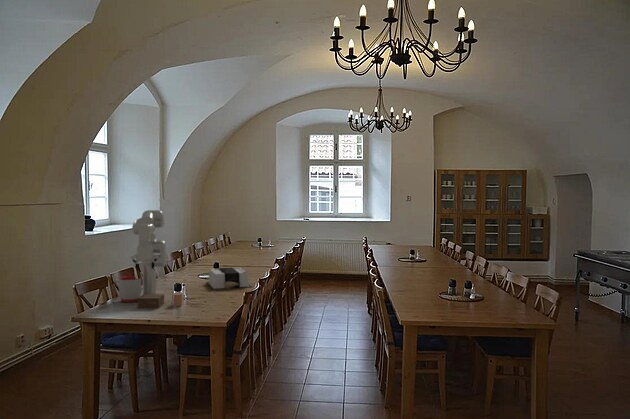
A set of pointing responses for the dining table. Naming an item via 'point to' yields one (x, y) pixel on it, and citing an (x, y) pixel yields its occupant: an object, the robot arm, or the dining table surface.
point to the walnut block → (151, 301)
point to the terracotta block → (178, 299)
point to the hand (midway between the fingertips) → (144, 269)
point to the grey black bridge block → (228, 278)
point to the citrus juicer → (129, 288)
